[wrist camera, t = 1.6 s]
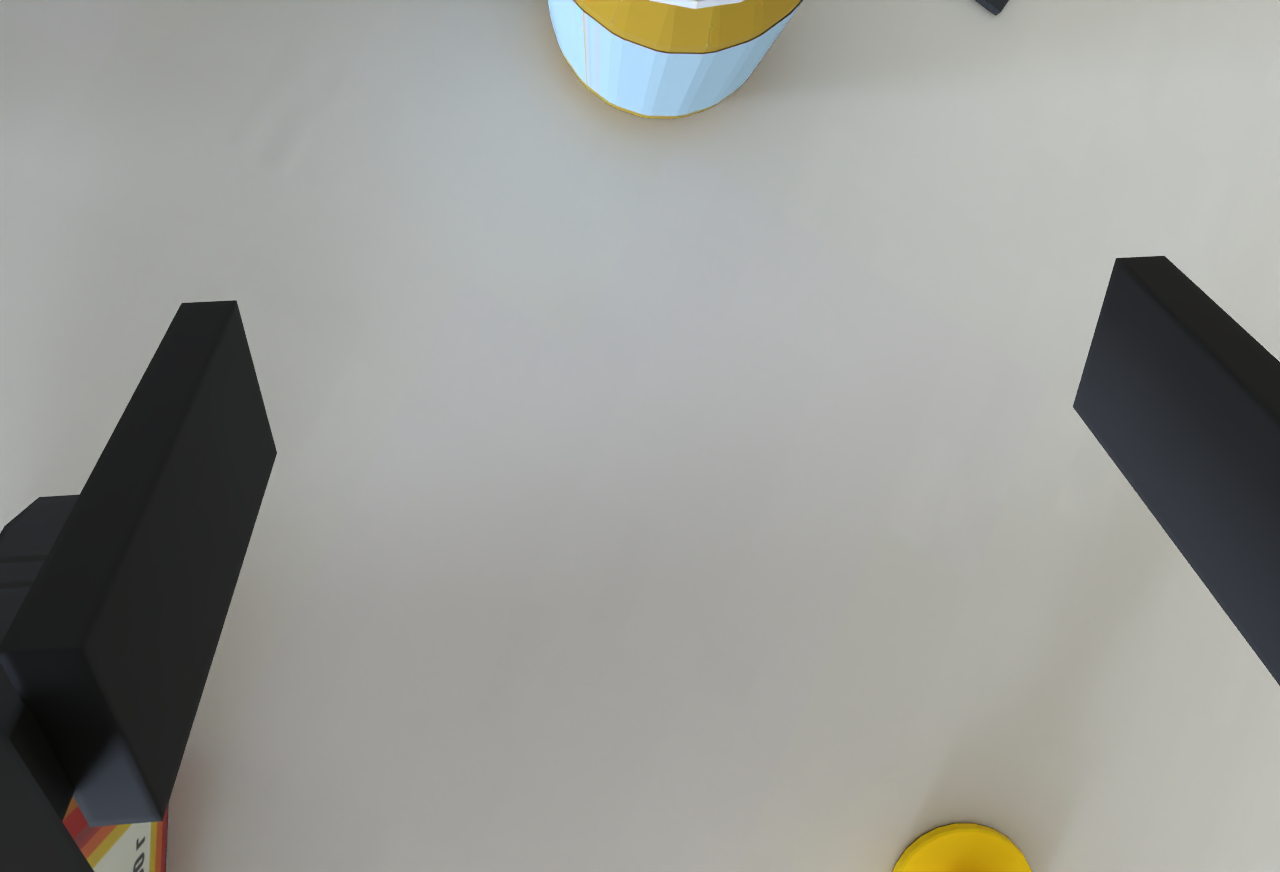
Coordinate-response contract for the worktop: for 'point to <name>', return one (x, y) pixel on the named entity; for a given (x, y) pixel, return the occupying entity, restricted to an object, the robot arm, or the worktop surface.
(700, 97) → the bottle
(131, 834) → the baking soda box
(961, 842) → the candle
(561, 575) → the worktop surface
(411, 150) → the worktop surface
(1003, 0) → the corner mat
